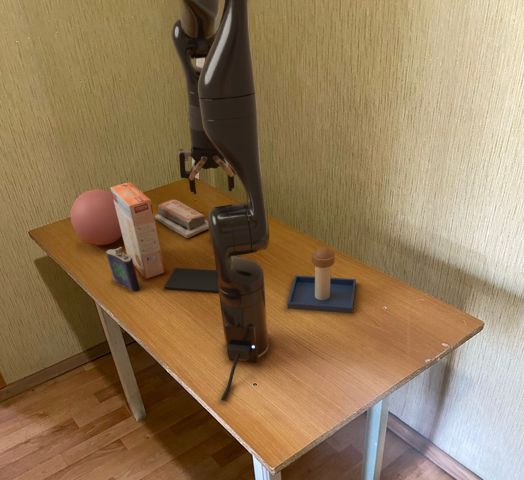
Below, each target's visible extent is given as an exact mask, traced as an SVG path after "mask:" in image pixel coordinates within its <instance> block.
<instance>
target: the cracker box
mask: <svg viewBox="0 0 524 480" xmlns="http://www.w3.org/2000/svg"><path fill="white" fill-rule="evenodd" d="M110 191H111V192H110V193H112V196H113V200H114V204H115V208H116V212H117V216H118V220H119V224H120V228H121V232H122V236H121V237H122V240H123V245H124V249H125V254H127V255H128V256H129V257H131V258H132V260H133V265H134V268H136V269H137V271H138V272H139V273H140V274H141V276H142V277H143V278H144V279H145V280H148V279H152V278H154V277H156V276H160V275H163V274H165V273H166V272H165V271H166V270H165V266H164V261H163V256H162V250H161V245H160V241H159V240H160V239H159V236H158V230H157V227H156V226H157V225H156V221H155V220H156V219H155V214H154V210H153V205H152V201H151V199H150V198H149V197H148V196H147V195H146V194H144V192H143V191H141V190H140V189H139V188H138V187H137V186H136V185H134V183H133V182H132V181H128V182H124V183H120V184H117V185H113V186H110Z"/></svg>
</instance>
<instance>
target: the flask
mask: <svg viewBox="0 0 524 480" xmlns="http://www.w3.org/2000/svg"><path fill="white" fill-rule="evenodd" d="M122 249H123V247H122V246H118V247H117V248H115V249H114V248H112V249H108V250H106V251H105V255H106V258H107V262H108V264H109V268H110V272H111V275H112V279H113V281H114V283H115V284H117V285H120V286H121V287H123V288H126V289H128V290H129V291H131V292H139V291H140V290H141V286H140V283H139V279H138V276H137V272H136V269H135V268H136V267H135V266H134V264H133V260H132V258H131V257H129V256H128V255H127V253H126V252H124V251H122Z"/></svg>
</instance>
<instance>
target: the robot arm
mask: <svg viewBox="0 0 524 480" xmlns="http://www.w3.org/2000/svg"><path fill="white" fill-rule="evenodd" d="M178 2H179V18H178V19H176V20H175V21H174V23H173V24H172V27H171V34H170V35H171V41H172V46H173V47H174V50H175V54H176V55H177V58H178V60H179V63H180V66H181V69H182V72H183V75H184V80H185V87H186V95H187V111H188V112H187V115H188V125H189V133H190V144H191V149H190V150H184V148H179V150H178V159H179V161H178V162H179V173H180V178H181V179H187V180H188V185H189V191H190V192H191V193H192V194H193V195H197V188H196V187H197V186H196V178H195V177H196V176H197V175H198V174H199V173H200V171H201V170H202V169H203V170H209V169H218V168H219V167H220V168H221V169H222V170H223V171H224V172H225V173H226V174H227V175H226V176H227V187H228V192H233V190H234V189H235V175H236V177H237V178H238V180H239V181H240V183H241V185H242V187H243V189H244V191H245V194H246V202H238V203H232V204H231V203H230V204H224V205H217V206H213V207H211V209H209V212H208V215H207V221H208V227H209V229H208V233H209V239H210V244H211V249H212V253H213V258H214V259H213V260H214V265H215V270H216V274H217V283H218V290H219V293H218V296H219V305H220V311H221V312H220V313H221V320H222V321H221V322H222V327H223V335H224V342H225V352H226V354H227V358H228V360H229V361H232V362H233V364H232V366H231V369H230V373H229V376H228V377H229V378H228V382H227V384H226V388H225V390H224V392H223V394H222V396H221V398H220V400H221V401H223V402H225V400H226V398H227V396H228V394H229V392H230V389H231V386H232V384H233V379H234V375H235V371H236V368H237V365H238V362H243V363H253V364H254V363H255V364H257V363H258V361H259V360H260V359H261V358H263V357H265V355H267V353H268V351H269V349H270V343H269V334H268V320H267V305H266V289H265V286H266V285H265V273H264V269H263V266H262V265H261V264H260V263H259V262H257V261H256V260H254V259H250V258H247V257H241V256H244V255H251V254H256V253H257V254H258V253H261V252H265V251H266V250H267V249H268V247H269V244H270V225H269V224H270V223H269V216H268V210H267V202H266V194H265V188H264V181H263V180H264V179H263V172H262V164H261V152H260V151H261V150H260V149H261V148H260V135H259V115H258V114H259V113H258V101H257V100H258V99H257V92H256V91H257V89H256V81H255V71H254V62H253V61H254V60H253V53H252V52H253V51H252V44H251V43H252V42H251V33H250V13H249V12H250V11H249V0H224V4H223V8H222V9H223V10H222V14H221V2H220V0H178ZM220 14H221V17H220ZM194 59H195V60H198V59H205V60H204V63H203V65H202V67H201V66H198V65H196V64H195V63H194V61H193V60H194ZM190 157H191V158H192V160H193V161H194V162H193V163H192V165H191V167H190V169H189V170H187V169H186V162H188V161H189V159H190Z"/></svg>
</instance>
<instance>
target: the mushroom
mask: <svg viewBox="0 0 524 480" xmlns="http://www.w3.org/2000/svg"><path fill="white" fill-rule="evenodd" d="M335 258H336V254H335V252H334V251H333V250H332V249H330V248H329V247H327V246H320V247H318V248H316V249H315V250H313V251H312V252H311V264H312V265H313V266H314V277H315V297H316V298H317V299H318V300H326V299H328V298H329V297H330V278H331V271H332V266H334V265H335Z"/></svg>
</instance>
